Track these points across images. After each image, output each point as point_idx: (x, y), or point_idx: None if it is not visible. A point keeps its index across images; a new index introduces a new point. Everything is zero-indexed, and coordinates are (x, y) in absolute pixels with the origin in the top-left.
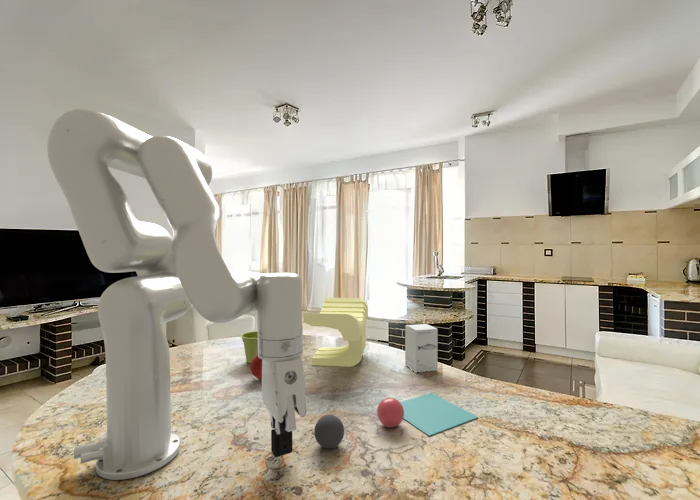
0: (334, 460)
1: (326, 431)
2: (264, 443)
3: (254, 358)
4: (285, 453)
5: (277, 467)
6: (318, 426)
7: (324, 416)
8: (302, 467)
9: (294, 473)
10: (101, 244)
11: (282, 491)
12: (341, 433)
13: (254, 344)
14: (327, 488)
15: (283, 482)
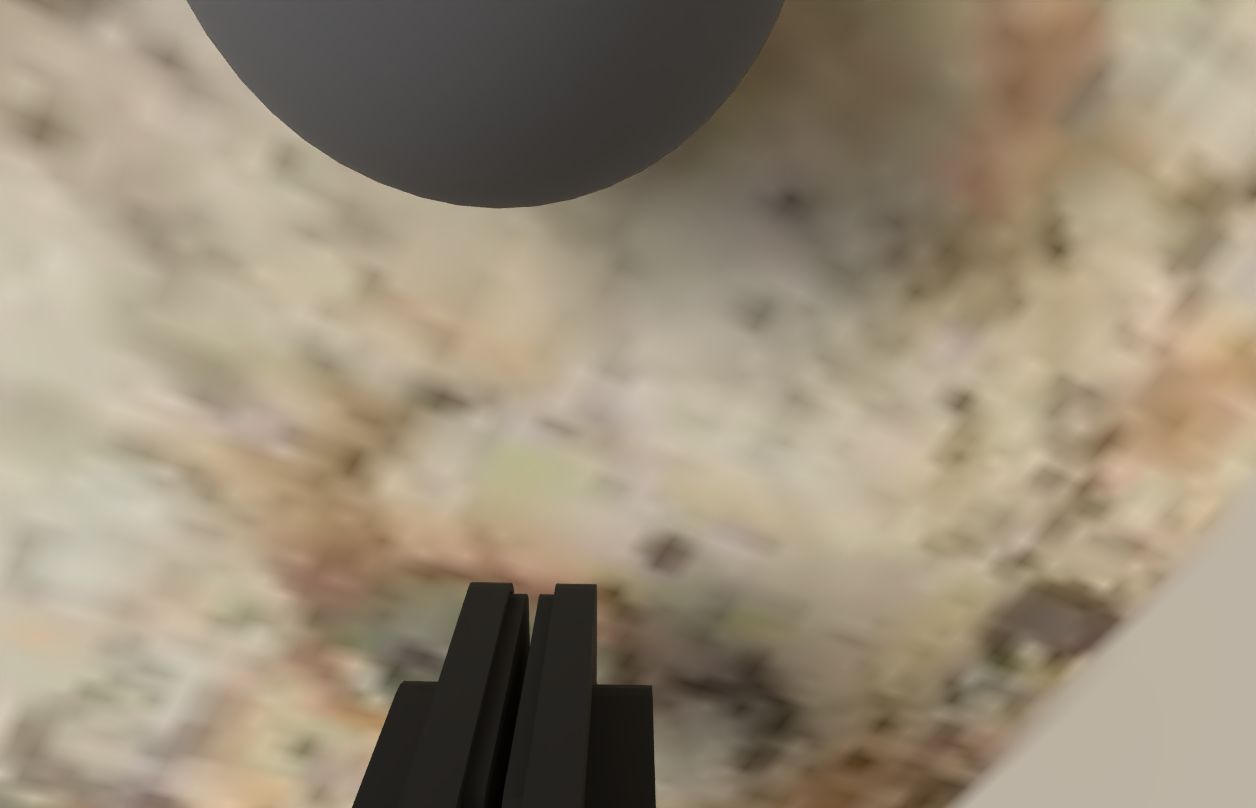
0: (877, 44)
1: (717, 73)
2: (88, 657)
3: None
4: (596, 663)
5: (609, 670)
6: (489, 166)
7: None
8: (761, 458)
9: (804, 565)
10: None
11: (975, 735)
12: None
13: None
14: (1250, 371)
15: (866, 692)
